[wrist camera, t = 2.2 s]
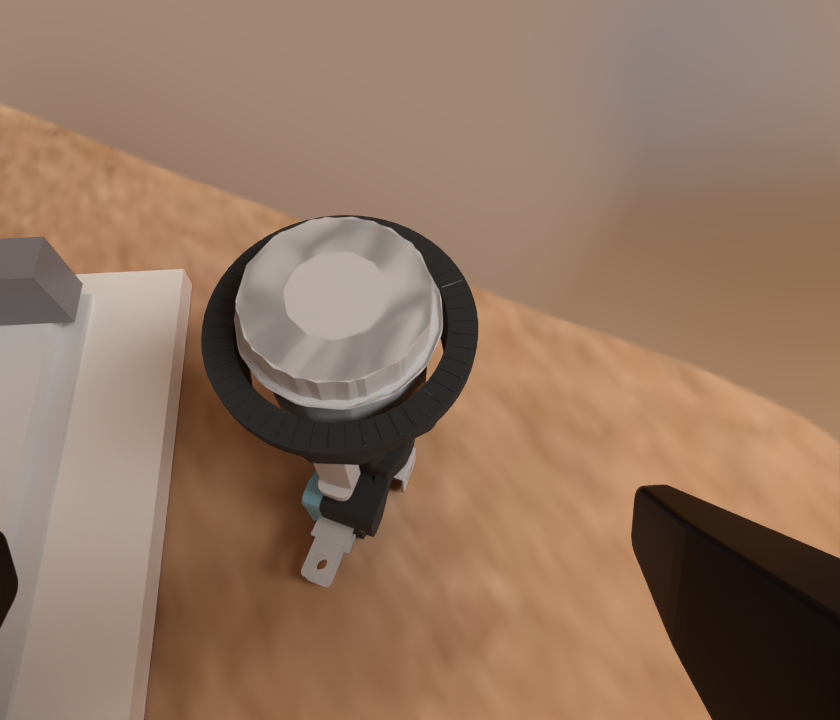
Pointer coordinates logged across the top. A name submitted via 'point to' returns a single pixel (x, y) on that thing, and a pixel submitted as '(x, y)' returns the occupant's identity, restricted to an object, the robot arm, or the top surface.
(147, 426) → the rail board
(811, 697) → the robot arm
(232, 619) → the top surface
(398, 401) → the push button
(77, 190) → the top surface
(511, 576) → the top surface
